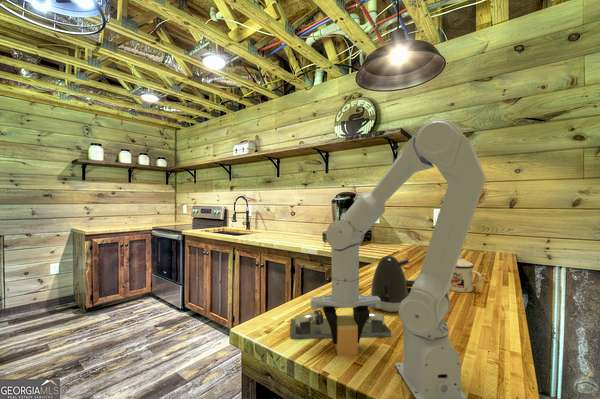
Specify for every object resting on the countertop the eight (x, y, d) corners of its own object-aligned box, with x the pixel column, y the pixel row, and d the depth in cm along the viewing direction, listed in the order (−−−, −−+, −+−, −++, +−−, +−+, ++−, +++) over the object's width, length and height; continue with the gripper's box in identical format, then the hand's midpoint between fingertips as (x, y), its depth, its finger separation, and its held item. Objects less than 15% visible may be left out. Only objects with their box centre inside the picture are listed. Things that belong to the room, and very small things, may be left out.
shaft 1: (299, 335, 62) (299, 317, 62) (294, 329, 65) (294, 311, 65) (323, 330, 64) (323, 312, 64) (317, 324, 67) (317, 308, 67)
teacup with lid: (438, 287, 98) (438, 254, 98) (451, 283, 103) (451, 251, 103) (475, 297, 88) (475, 261, 88) (488, 292, 93) (487, 257, 93)
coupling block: (352, 342, 61) (352, 315, 61) (357, 355, 56) (357, 325, 56) (334, 342, 61) (334, 315, 61) (338, 355, 56) (338, 325, 56)
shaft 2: (384, 327, 66) (384, 310, 66) (383, 333, 63) (383, 315, 63) (358, 323, 68) (358, 307, 68) (357, 329, 65) (357, 312, 65)
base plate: (391, 336, 63) (391, 332, 63) (291, 338, 63) (290, 334, 63) (380, 321, 71) (380, 317, 71) (290, 323, 71) (290, 319, 71)
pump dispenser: (412, 317, 74) (412, 260, 74) (372, 314, 76) (371, 258, 76) (405, 303, 84) (405, 253, 84) (370, 300, 86) (370, 251, 86)
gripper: (373, 272, 63) (373, 331, 63) (309, 272, 62) (309, 333, 62) (383, 281, 56) (384, 348, 56) (312, 282, 55) (312, 350, 55)
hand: (345, 341), depth 59 cm, fingers closed on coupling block, 4 cm apart
